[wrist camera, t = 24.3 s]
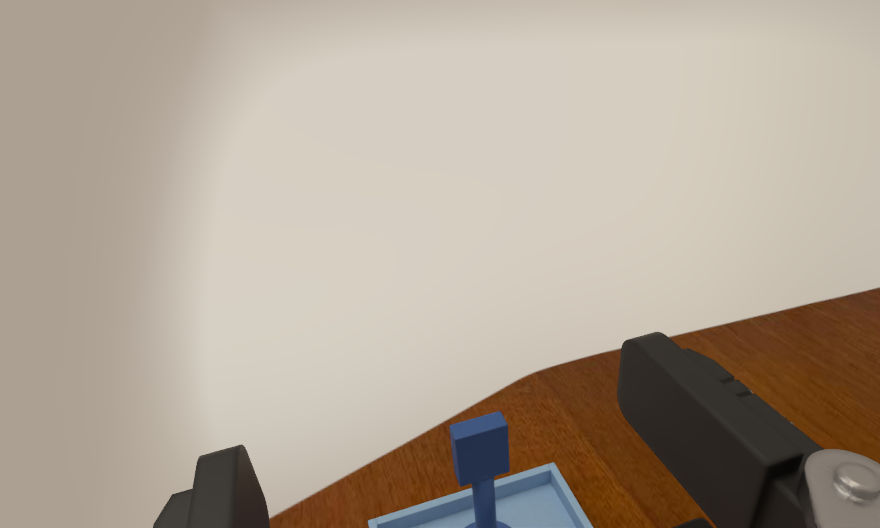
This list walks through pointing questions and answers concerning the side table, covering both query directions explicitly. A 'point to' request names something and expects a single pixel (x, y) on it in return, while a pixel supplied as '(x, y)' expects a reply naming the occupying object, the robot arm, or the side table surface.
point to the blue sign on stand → (481, 462)
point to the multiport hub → (695, 524)
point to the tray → (500, 505)
